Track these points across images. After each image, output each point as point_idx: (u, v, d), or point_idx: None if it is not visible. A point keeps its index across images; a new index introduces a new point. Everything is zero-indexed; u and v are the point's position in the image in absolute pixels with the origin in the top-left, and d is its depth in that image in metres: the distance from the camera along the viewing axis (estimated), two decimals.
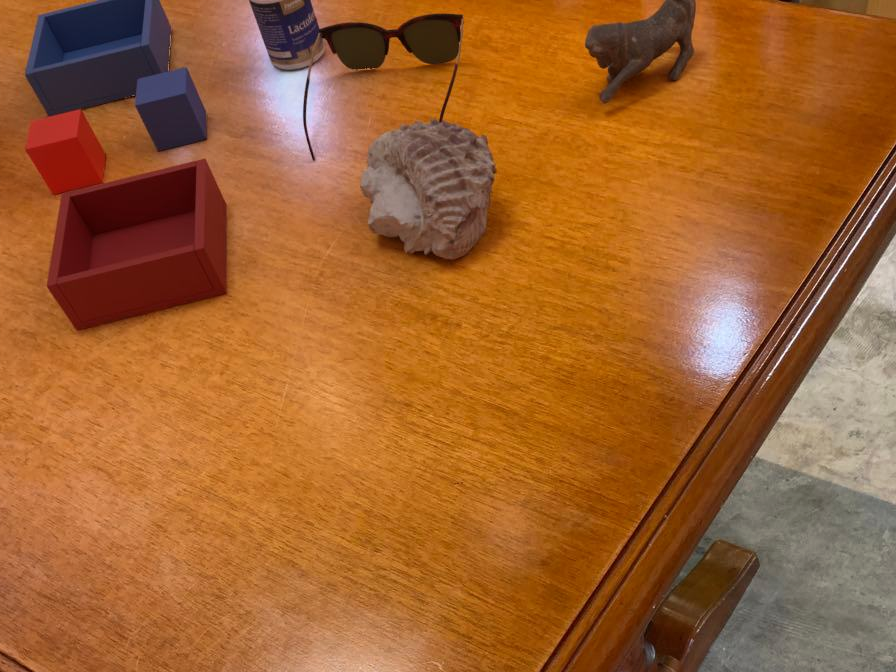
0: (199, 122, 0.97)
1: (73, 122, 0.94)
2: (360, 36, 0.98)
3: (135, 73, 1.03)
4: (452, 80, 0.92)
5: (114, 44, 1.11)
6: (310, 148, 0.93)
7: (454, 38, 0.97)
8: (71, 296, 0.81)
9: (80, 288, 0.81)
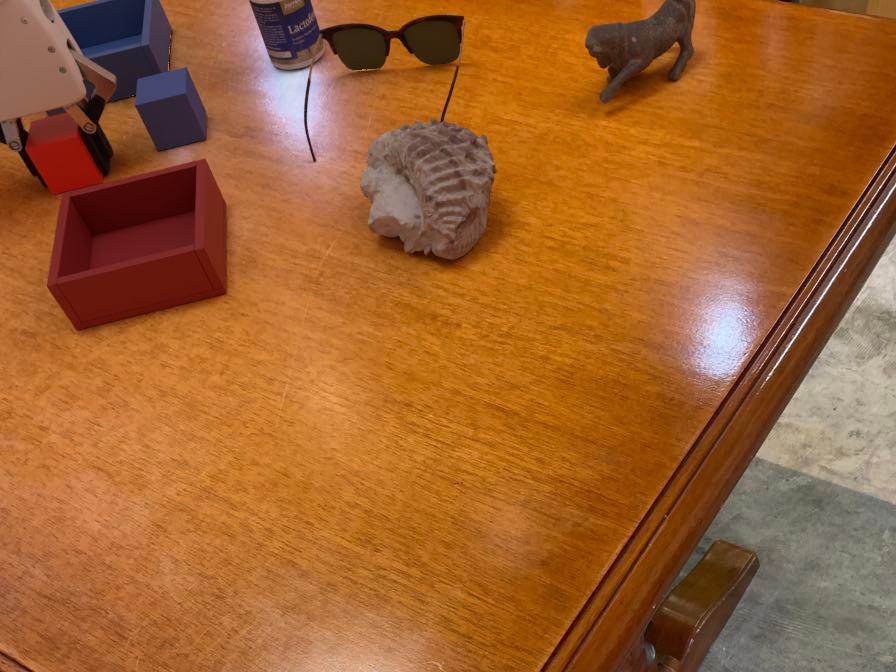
0: (199, 122, 0.97)
1: (73, 122, 0.94)
2: (361, 37, 0.98)
3: (135, 73, 1.03)
4: (453, 81, 0.92)
5: (114, 44, 1.11)
6: (311, 149, 0.93)
7: (456, 39, 0.97)
8: (71, 296, 0.81)
9: (80, 288, 0.81)
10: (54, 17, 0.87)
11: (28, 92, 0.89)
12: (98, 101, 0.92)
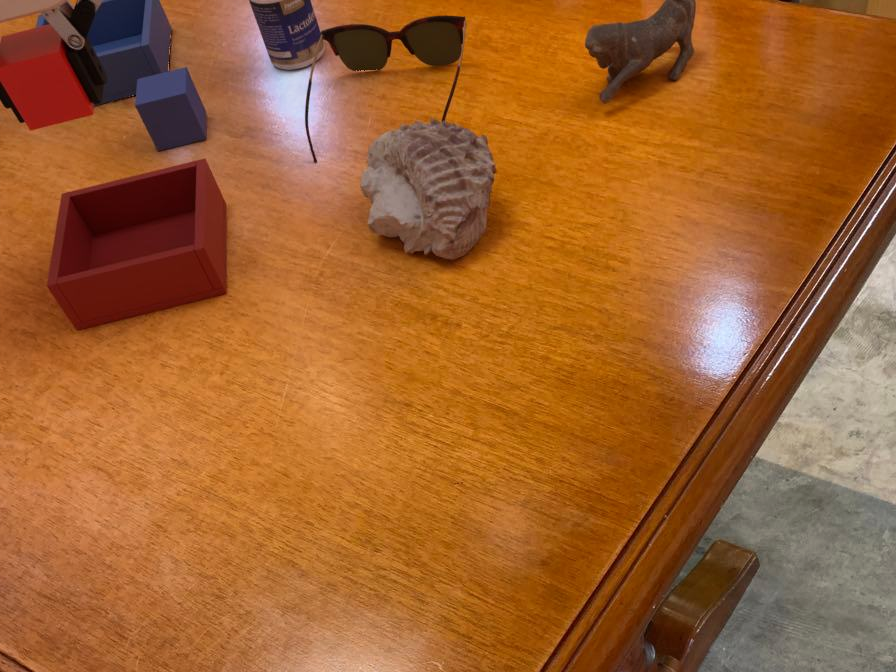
0: (199, 122, 0.97)
1: (56, 36, 0.73)
2: (362, 38, 0.98)
3: (135, 73, 1.03)
4: (454, 82, 0.92)
5: (114, 44, 1.11)
6: (312, 150, 0.93)
7: (457, 40, 0.97)
8: (71, 296, 0.81)
9: (80, 288, 0.81)
10: None
11: None
12: (87, 6, 0.71)
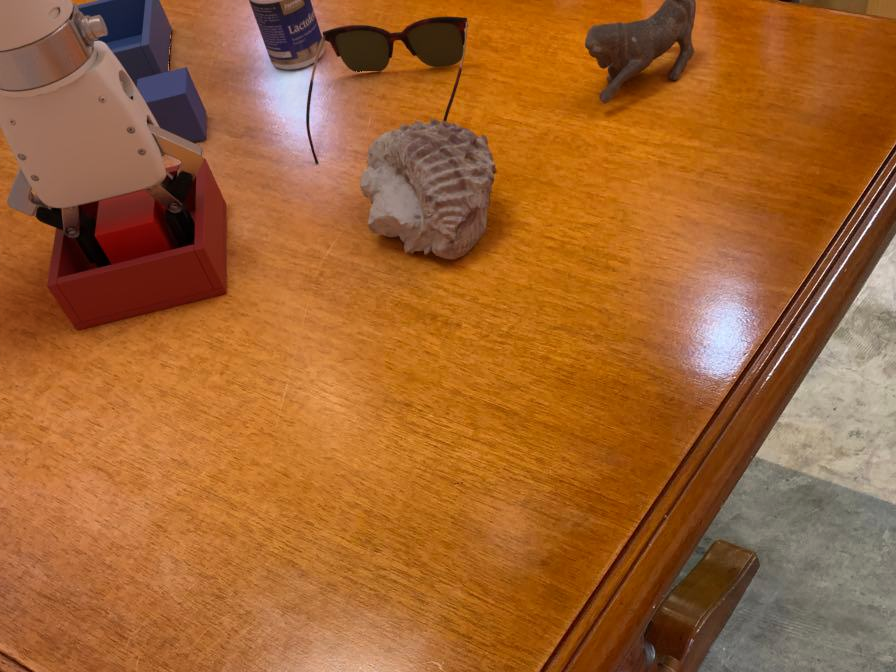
0: (199, 122, 0.97)
1: (148, 204, 0.83)
2: (364, 39, 0.98)
3: (135, 73, 1.03)
4: (456, 84, 0.91)
5: (114, 44, 1.11)
6: (313, 151, 0.92)
7: (459, 41, 0.97)
8: (71, 296, 0.81)
9: (80, 288, 0.81)
10: (133, 93, 0.76)
11: (102, 176, 0.78)
12: (186, 178, 0.81)
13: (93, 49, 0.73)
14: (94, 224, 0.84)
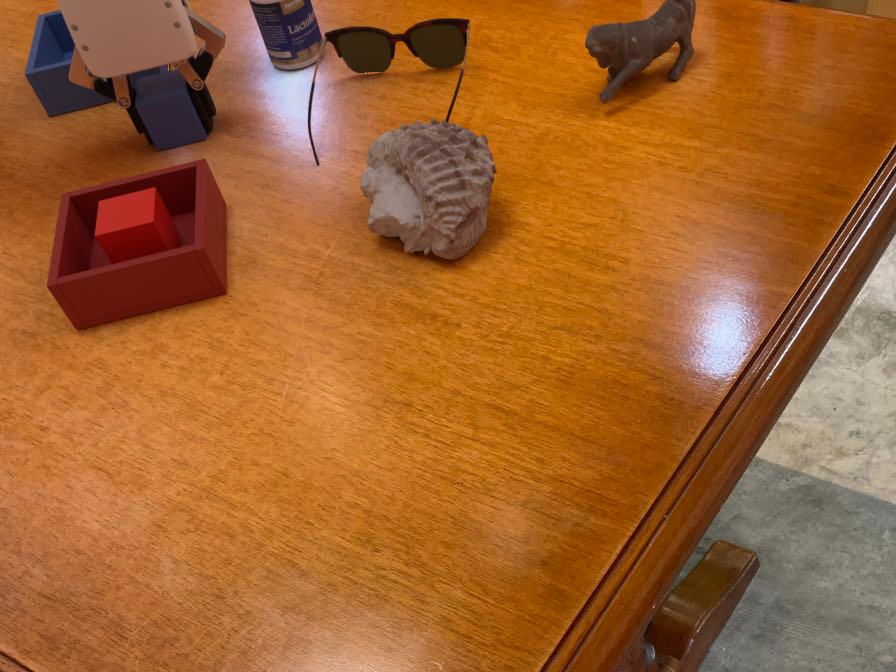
0: (199, 122, 0.97)
1: (148, 204, 0.83)
2: (366, 40, 0.98)
3: (135, 73, 1.03)
4: (458, 86, 0.91)
5: None
6: (314, 153, 0.92)
7: (461, 43, 0.97)
8: (71, 296, 0.81)
9: (80, 288, 0.81)
10: None
11: (142, 47, 0.90)
12: (207, 58, 0.93)
13: None
14: None
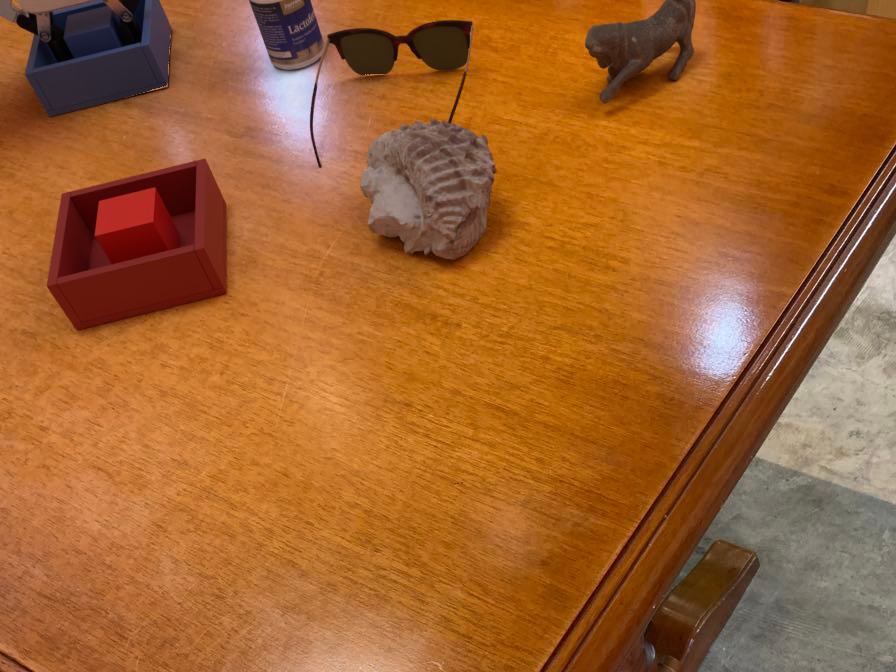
0: None
1: (148, 204, 0.83)
2: (369, 42, 0.97)
3: (135, 73, 1.03)
4: (460, 88, 0.91)
5: None
6: (316, 155, 0.92)
7: (464, 45, 0.96)
8: (71, 296, 0.81)
9: (80, 288, 0.81)
10: None
11: None
12: None
13: None
14: (63, 34, 1.06)
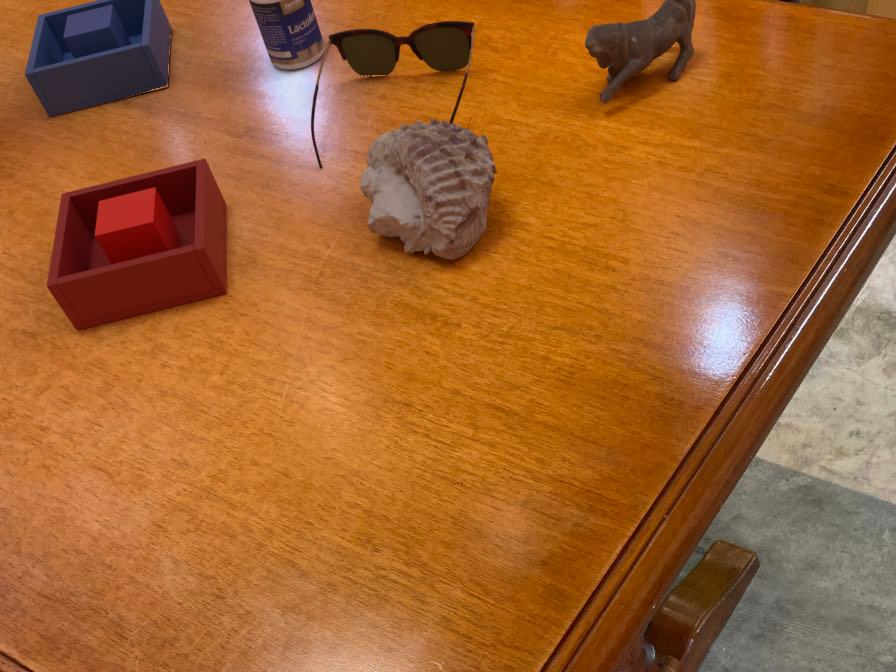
0: None
1: (148, 204, 0.83)
2: (370, 43, 0.97)
3: (135, 73, 1.03)
4: (462, 89, 0.91)
5: None
6: (317, 156, 0.92)
7: (466, 46, 0.96)
8: (71, 296, 0.81)
9: (80, 288, 0.81)
10: None
11: None
12: None
13: None
14: None
